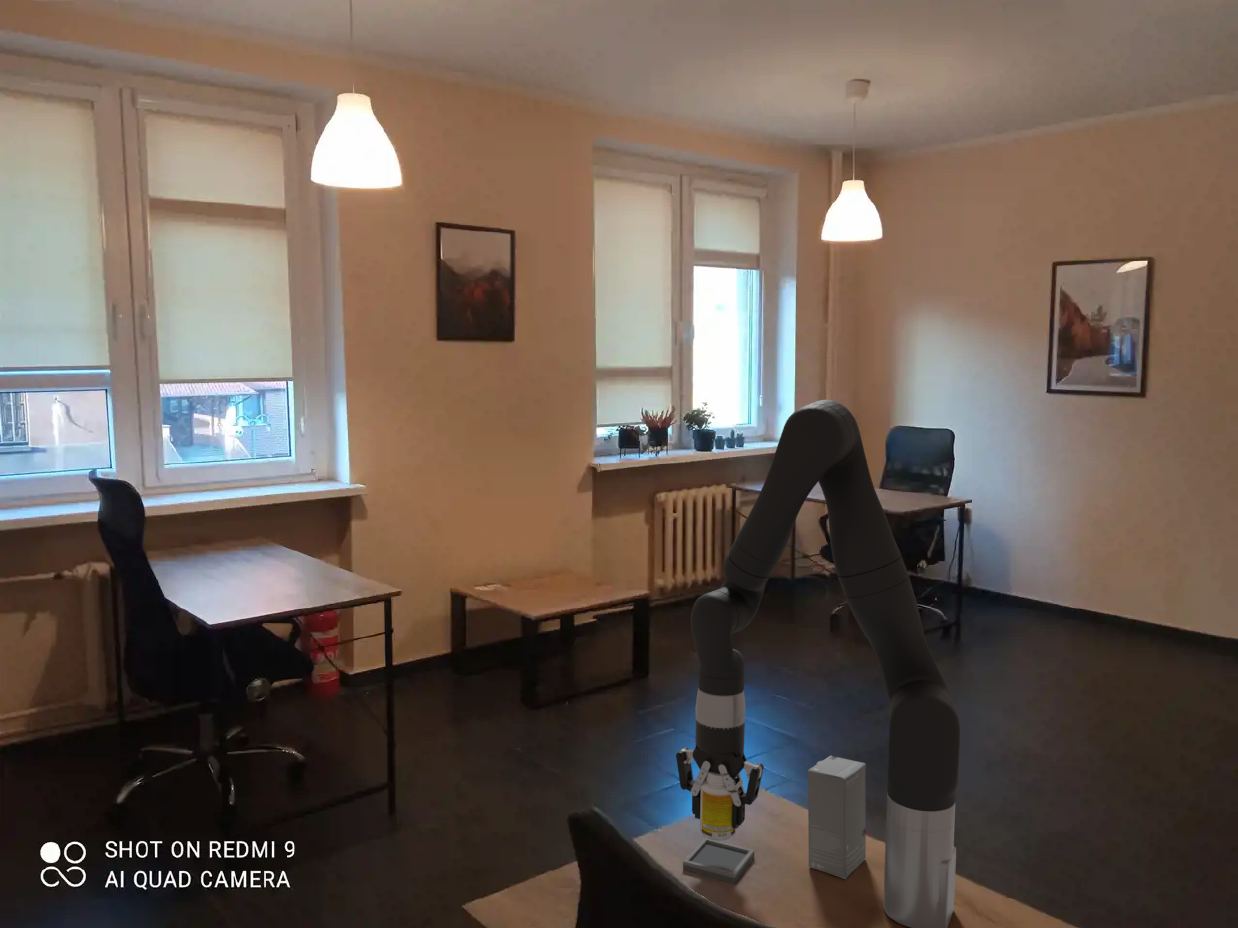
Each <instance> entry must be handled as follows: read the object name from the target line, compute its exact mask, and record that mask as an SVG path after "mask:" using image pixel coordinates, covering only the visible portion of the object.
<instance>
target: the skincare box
mask: <svg viewBox="0 0 1238 928" xmlns="http://www.w3.org/2000/svg"><path fill="white" fill-rule="evenodd" d="M866 766H867V764H866V763H865V762H862V761H856V760H851V759H848V758H843V757H839V756H838V757H837V756H834V755H829V756H828V757H826V758H825V759H823V760H819V761H817V762H816V764H815V765H814V766H812V767H811V768H809V769H808V770H807V804H808V805H807V807H808V808H807V810H808V811H807V814H808V815H807V817H808V818H807V819H808V821H807V822H808V825H807V826H808V827H807V828H808V833H807V834H808V867H809V868H811V869H814V870H817V871H820V872H824V873H826V874H830V875H833V876H836V877H838V878H841V879H843V880H847V878H848V877H849V876H851V874H852V873H853V872H854V871H855V870H857V868H858V867H859V866H860V865H861V864H862V863H864V861H865V860H866V856H867V855H866V849H867V847H866V844H867V842H866V841H867V839H866V838H867V837H866V830H867V829H866V828H867V827H866V818H867V817H866V813H867V811H866Z"/></svg>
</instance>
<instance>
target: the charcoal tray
mask: <svg viewBox="0 0 1238 928" xmlns="http://www.w3.org/2000/svg"><path fill="white" fill-rule="evenodd" d="M754 859H755V849H751V848H747V847H744V846H741V845H736V844H733V843H729V842H724V841H717V840H711V839H708V838H706V837H704V838H703V839H702V840H701V841H700V842H699V843H698V844H697V845H696V847H695V848H694V849H693V850H692V851H691V852H690V853H689V854H688V855H687V856H686V857H685V858H684V859H683V861H682V870H683V871H689V872H692V873H695V874H699V875H703V876H706V877H709V878H714V879H717V880H720V881H721V880H722V881H724V882H728V883H732V884H735V883H737V881H738V879H739V878H740V877H741V875H742V874H743V873H744V872H745V870H746V869H747V868H748V867H749V865H750V864H751V863H752V861H754Z"/></svg>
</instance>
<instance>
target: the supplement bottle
mask: <svg viewBox="0 0 1238 928" xmlns="http://www.w3.org/2000/svg"><path fill="white" fill-rule="evenodd" d="M733 805H734V802H733V800H732V797H731V793H730V792H728V791H727V788H726V785H725V782H724V780H723V777H722V775H721V774H717V773H713V772H708V774H707V776H706V780H705V781H704V783H703V784H702V786H701V796H700V819H699V831H700V833H701V835H702V836H703V837H704V838H708V839H711V840H717V841H721V842H723V841H727V840H730V839H731V838H733V837H734V836H735V834H736V829H737V828H733V827H732V808H733Z"/></svg>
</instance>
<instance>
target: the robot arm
mask: <svg viewBox="0 0 1238 928" xmlns="http://www.w3.org/2000/svg"><path fill="white" fill-rule="evenodd" d="M817 484H819V486H820V489H821V491H822V494H823V496H824V499H825V504H826V509H827V517H828V528H829V529H828V530H829V539H830V540H829V541H830V548H831V549H830V550H831V555H832V561H833V565H834V569H835V572H836V575H837V578H838V581H839V583H840V586H841V588H842V592H843V594H844V596H845V600H846V602H847V604H848V607H849V609H850V610H851V613H852V615H853V616H854V619H855V620H856V622H857V623H858V626H859V627H860V629H861V630H862V632H863V634H864V636H865V637H866V638H867V640H868V642H869V644H870V646H871V648H872V649H873V652H874V654H875V656H876V659H877V661H878V665H879V667H880V671H881V674H882V677H883V678H882V679H883V682H884V684H885V688H886V689H885V690H886V695H887V697H888V705H889V719H888V720H889V722H888V723H889V724H888V725H889V726H888V749H887V750H888V751H887V753H888V754H887V760H888V761H887V773H886V774H887V778H886V781H887V785H886V817H885V820H886V821H885V844H884V845H885V848H884V849H885V850H884V872H883V873H884V875H883V876H884V877H883V878H884V880H883V881H884V882H883V911H884V912H885V913H886V915H887V916H888V917H889V919H892V920H893V921H894V922H896V923H898V924H899V925H902V926H905V927H909V928H949V925H950V922H951V918H952V916H953V913H954V910H955V893H956V892H955V891H956V889H955V886H956V869H957V868H956V867H957V866H956V863H957V862H956V860H957V848H956V846H955V844H954V843H955V817H956V799H957V798H956V795H957V788H958V781H959V766H960V765H959V764H960V763H959V762H960V745H961V743H960V742H961V739H960V738H961V725H960V718H959V712H958V708H957V704H956V701H955V698H954V697H953V694H952V693H951V691H950V689H949V687H948V686H947V683H946V682H945V679H944V678H943V676H942V674H941V672H940V669H939V668H938V665H937V663H936V661H935V659H934V657H933V654H932V653H931V650H930V647H929V645H928V642H927V640H926V637H925V633H924V629H923V624H922V618H921V616H920V610H919V607H918V602H917V598H916V596H915V593H914V589H913V586H912V582H911V578H910V576H909V573H908V570H907V568H906V565H905V563H904V559H903V556H902V554H901V550H900V549H899V547H898V543H897V541H896V539H895V537H894V535H893V534H894V533H893V531H892V528H891V527H890V523H889V521H888V518H887V516H886V513H885V511H884V508H883V506H882V503H881V501H880V498H879V497H878V496H879V495H878V494H877V492H876V489H875V486H874V483H873V480H872V476H871V473H870V469H869V465H868V461H867V457H866V453H865V448H864V444H863V440H862V436H861V432H860V429H859V425H858V422H857V420H856V418H855V416H854V415H853V413H852V412H851V411H850V409H848V407H846V406H845V405H844V404H842V403H840V402H838V401H836V400H831V399H821V400H817V401H813V402H812V403H809V404H807V405H804V406H802V407H800V408H798V409H797V410H795V411H794V412H792V414H791V415H790V416H788V418H787V420H786V421H785V423H784V426H783V429H782V431H781V434H780V437H779V440H778V443H777V447H776V450H775V452H774V456H773V459H772V462H771V465H770V468H769V470H768V473H767V475H766V477H765V480H764V483H763V485H762V488H761V490H760V492H759V494H758V497H757V499H756V500H755V503H754V505H753V506H752V508H751V510H750V512H749V514H748V515H747V518H746V519H745V521H744V523H743V525H742V526H741V528H740V530H739V532H738V534H737V536H736V538H735V540H733V544H731V547H730V549H729V551H728V553H727V555H725V558H724V561H723V565H722V572H723V575H724V576H725V580H724V581H723V584H722V585H721V586H720V588H717V589H715V590H712V591H709V592H706V593H704V594H702V595H700V596H699V597H698V598H697V599H696V600H695V602H694V604H693V606H692V609H691V613H690V627H691V628H690V629H691V635H692V639H693V642H694V643H693V644H694V647H695V652H696V655H697V659H698V675H697V676H698V679H697V680H698V682H697V684H698V685H697V686H698V687H697V693H696V694H697V695H696V701H695V709H694V711H695V732H694V733H695V736H694V737H695V739H694V740H695V741H694V742H695V747H694V749H689V748H688V747H686V746H683V748H681V749H680V750H679V751H678V752H677V753H676V754H675V759H676V764H677V770H678V771H677V772H678V779H679V785H680V788H681V789H682V790H684V791H686V790H687V791H689V792H690V794H691V813H692V815H694V819H697V820H700V796H701V786H702V784H703V783H704V781H705V780H706V776H707V774H708V772H713V773H717V774H721V775H722V777H723V780H724V782H725V785H726V788H727V791H728V792H730V793H731V797H732V800H733V802H734V805H733V808H732V827H733V828H736V829H738V828H740V826H741V825H742V824H743V823H744V821H745V820H746V805H747V806H751V805H752V804H753V803H754V802H755V801H756V799H757V798H758V796H759V792H760V786H761V783H762V778H763V773H764V767H765V766H764V765H763V763H761V762H757V763H756V764H755V763H752V762H750V761H747V758H746V756H745V734H746V733H745V731H746V730H745V729H746V728H745V727H746V725H745V724H746V699H745V668H746V666H745V658H744V656H743V653H741V652H740V651H739V650H737V649H734V648H733V642H732V637H733V636H732V635H733V634H735V633H738V632H740V631H742V630H744V629H746V628H747V627H748V626H749V625H750V624H751V622H752V621H753V619H754V618H755V616H756V614H757V612H758V610H759V608H760V604H761V601H762V598H763V595H764V592H765V587H766V585H767V584H766V583H767V582H768V580H769V578H770V577H771V575H772V574H773V572H774V570H775V568H776V566H777V564H778V563H779V561H780V560H781V557H782V555H783V553H784V551H785V549H786V547H787V546H788V543H789V540H790V538H791V535H792V532H793V529H794V525H795V523H796V521H797V517H798V515H799V513H800V511H801V509H802V507H803V505H804V503H805V502H806V499H807V498H808V496H809V495H810V493H811V492H812V490H813V489H814V487H816V486H817ZM693 760H694V762H695V764H696V765H697V768H699V771H698V774H697V775H696V778H695V780H694V775H693V768H692V762H693ZM743 770H744V771H745V774H746V778H747V779H748V783H747V787H746V788H747V789H746V791H745V788H744V784H743V783H744V782H743V779H742V776H741V772H742V771H743Z"/></svg>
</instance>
